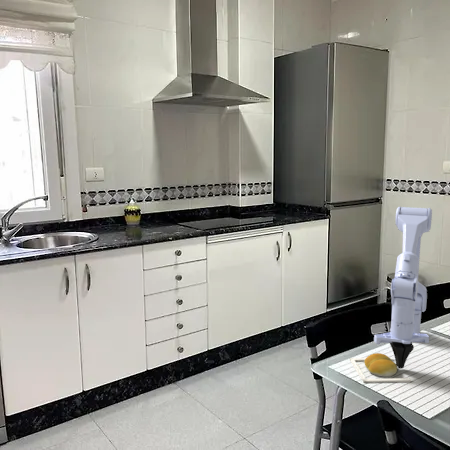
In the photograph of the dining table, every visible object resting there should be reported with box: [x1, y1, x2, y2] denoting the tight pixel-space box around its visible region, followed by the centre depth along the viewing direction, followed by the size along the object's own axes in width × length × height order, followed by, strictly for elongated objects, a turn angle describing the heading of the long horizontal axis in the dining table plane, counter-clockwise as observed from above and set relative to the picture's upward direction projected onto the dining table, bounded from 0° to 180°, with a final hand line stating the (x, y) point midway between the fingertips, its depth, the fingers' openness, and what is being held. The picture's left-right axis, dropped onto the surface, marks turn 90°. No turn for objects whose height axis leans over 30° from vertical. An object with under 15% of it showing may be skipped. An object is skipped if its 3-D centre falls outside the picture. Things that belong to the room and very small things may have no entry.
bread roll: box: [363, 352, 398, 378], centre depth 127 cm, size 8×9×4 cm
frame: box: [349, 357, 412, 384], centre depth 126 cm, size 13×12×1 cm
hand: (399, 366), depth 126 cm, fingers closed
